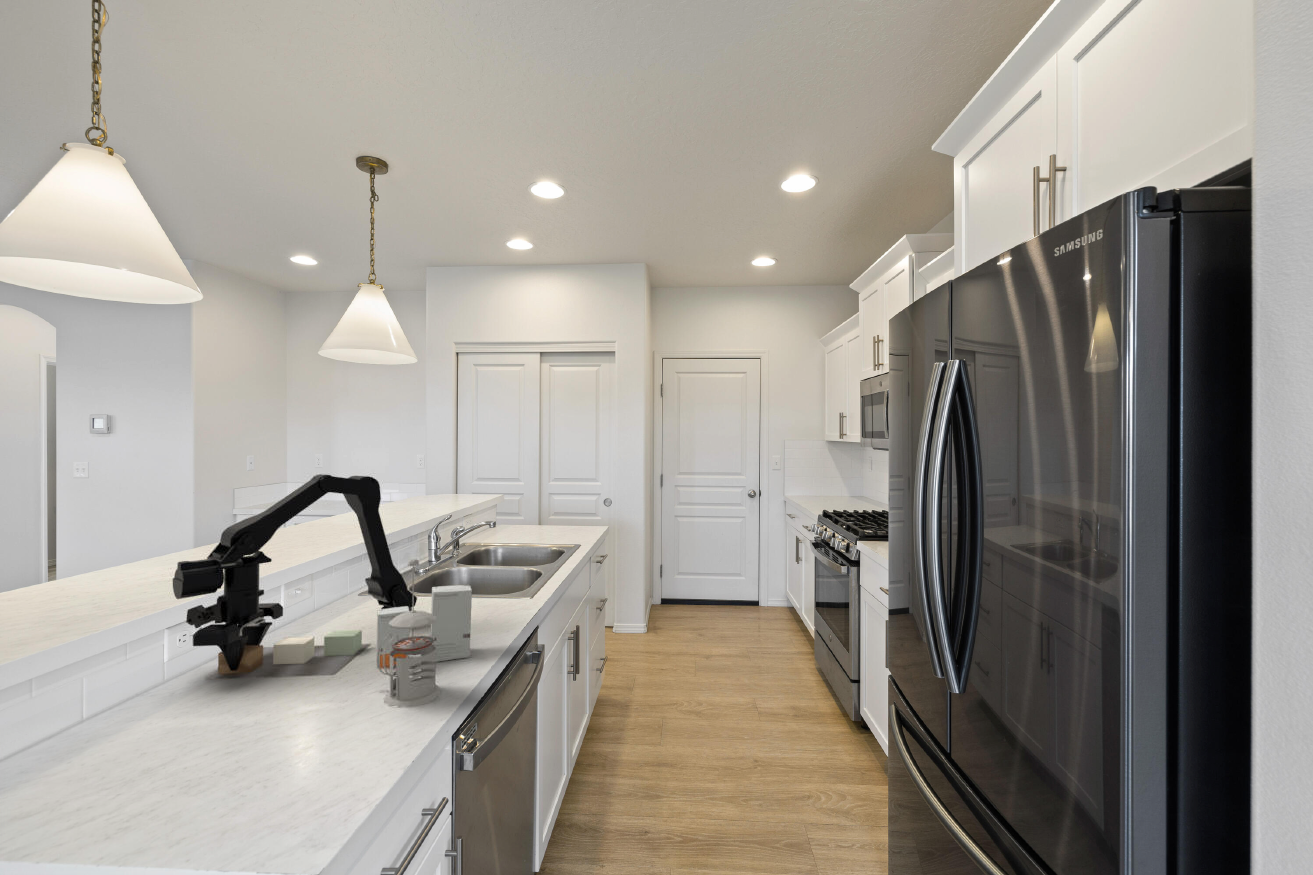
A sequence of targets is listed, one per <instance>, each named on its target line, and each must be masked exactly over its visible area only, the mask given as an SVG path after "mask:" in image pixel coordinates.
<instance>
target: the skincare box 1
mask: <svg viewBox="0 0 1313 875" xmlns="http://www.w3.org/2000/svg"><path fill="white" fill-rule="evenodd" d="M405 612H409V607H408V606H405V607H394V608H389V609H381V608H380V609H377V610H376V613H377V614H376V615H377V616H376V617H377V618H376V669H379V668H378V665H377V653H378V649H379V647H380V644H381V642H382V641H383V639H384V638H385V637H386V636H387V635H389V634H392V638H393V637H394V636H395V635H398V640H399V639H401V638H404V637H410V629H394V628H392V627H390V625H389V622H390V621H391V620H393V619H394V618H395V617H396V616H398V615H400V614H402V613H405ZM390 640H391V635H389V636H388V637H387V638H386V639H385V640H384V642H383V643H382V645H381V648H380V651H379V655H378V656H379V666H380V668H381V669H384V666H383V655H384V651H385V648H386V646H387V645H388V643H389V641H390ZM393 640H394V641H397V637H395V638H394V639H393ZM393 643H394V642H393V641H392V640H391V642H390V644H389V645H388V647H387V650H386V653H385V667H386V668H390V652H391V651H392V650H394V649H393V648H392V644H393ZM409 656H410V655H405V654H400V653H399V654H395V655H394V656H393V659H394V658H396V657H403V658H410V657H409ZM395 664H396V661H395V662H394V663H393V666H394V665H395Z"/></svg>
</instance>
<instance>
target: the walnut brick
mask: <svg viewBox="0 0 1313 875" xmlns="http://www.w3.org/2000/svg"><path fill="white" fill-rule="evenodd" d="M263 647H264V645H263V644H260V645H250V646H245V648H244V652H243V655H242V658H241V661H240V664H239V666H238V669H237V670H236V671H231V670H230V668H229V666H228V664H227V662H226V659H225V657H224V655H223V653H222V651H220V652H217V653H218V655H217V656H218V657H217V665H218V666H217V671H218V674H226V673H251V672H252V671H254V670H255V669H257V668H259V667H260V666H262V665H263Z"/></svg>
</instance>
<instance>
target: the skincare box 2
mask: <svg viewBox="0 0 1313 875" xmlns="http://www.w3.org/2000/svg"><path fill="white" fill-rule="evenodd" d="M472 593H473V590H472V587H471V585H470V584H459V585H458V584H457V585H441V586H432V587H431V614H433V615H435V616H436V620H435V621H434V622H433V623H432V624H430V637H432V638H433V639H434V642H433V643H432V645H434V646H435V648H436V661H435V663H437V662H444V661H450V660H458V659H459V660H460V659H468V658H469V657H470V656H471V654H470V653H471V629H472V628H471V625H472V598H473V597H472V595H473V594H472Z"/></svg>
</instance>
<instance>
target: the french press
mask: <svg viewBox="0 0 1313 875" xmlns="http://www.w3.org/2000/svg"><path fill="white" fill-rule="evenodd" d="M407 566H408V567H412V594H413V604H412V611H409V612H405V613H402V614H400V615H398V616H396V617H395V618H394V619H393V620H391V621H390V622H389V625H390V627H392V628H394V629H409V630H411V631H412V632H411V633H412V634H411V636H409V637H404V638H401V639H399V640H398V635H395V636H394V637H393V638H392V634H389V635H391V640H392V641H393V642H394V643H393V644H392V648H393V649H394V650H392V651H391V652H390V666H389V671H388V670H387V667H385V653H386V650H387V647H388V645H389V644H390V642H391V640H390V641H389V643H388V645H387V646H386V648H385V651H384V655H383V666H384V668H383V669H384V671H385V672H384V671H382V668H380V666H379V656H378V655H379V651H380V648H381V645H382V643H383V642H384V640H385V639H386V638H387V637H388V636H389V635H387V636H386V637H385V638H384V639H383V641H382V642H381V644H380V647H379V649H378V653H377V652H376V654H377V665H378V668H377V669H378V670H379V672H380V673H381V674H382V675H386V676H389V691H388V693H387V694H386V695H385V696H384V697H383V703H384V704H385V703H386V704H388V705H389V706H388V705H387V706H388V707H392V706H397V707H396V708H410V707H409V706H412V707H416V706H420V705H421V706H422V705H423V703H424V704H427V703H429V702H431V701H433V700H435V699H436V698H438V697H439V696H440V694H441V693H442V690H440V689H441V687H440V686H438V685H437V684H436V674H437V673H436V671H437V670H436V665H437V664H436V662H435V661H436V648H435V646H434V645H432V643H433V642H434V639H433V638H432V637H431V635H430V636H429V635H414V633H415V632H414V629H420V628H424V627H427V626H429V625H431V624H432V623H433V622H434V621H435V620H436V616H435V615H433V614H431V613H430V612H427V611H424V610H414V607H415V606H414V596H415V590H414V589H415V587H414V586H415V582H414V581H415V567H417V566H420V562H419V560H418V559H417V558H412V559H410V560H408V561H407ZM395 637H397V641H394V640H393V639H394V638H395ZM399 653H400V654H405V655H409V656H415V657H409V658H403V657H396V658H394V659H393V656H394V655H395V654H399ZM418 655H419V656H418ZM395 661H396V664H395V665H394V666H393V663H394V662H395ZM440 692H441V693H440ZM437 696H438V697H437ZM386 704H385V705H386ZM403 706H404V707H403ZM405 706H406V707H405ZM407 706H408V707H407Z"/></svg>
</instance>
